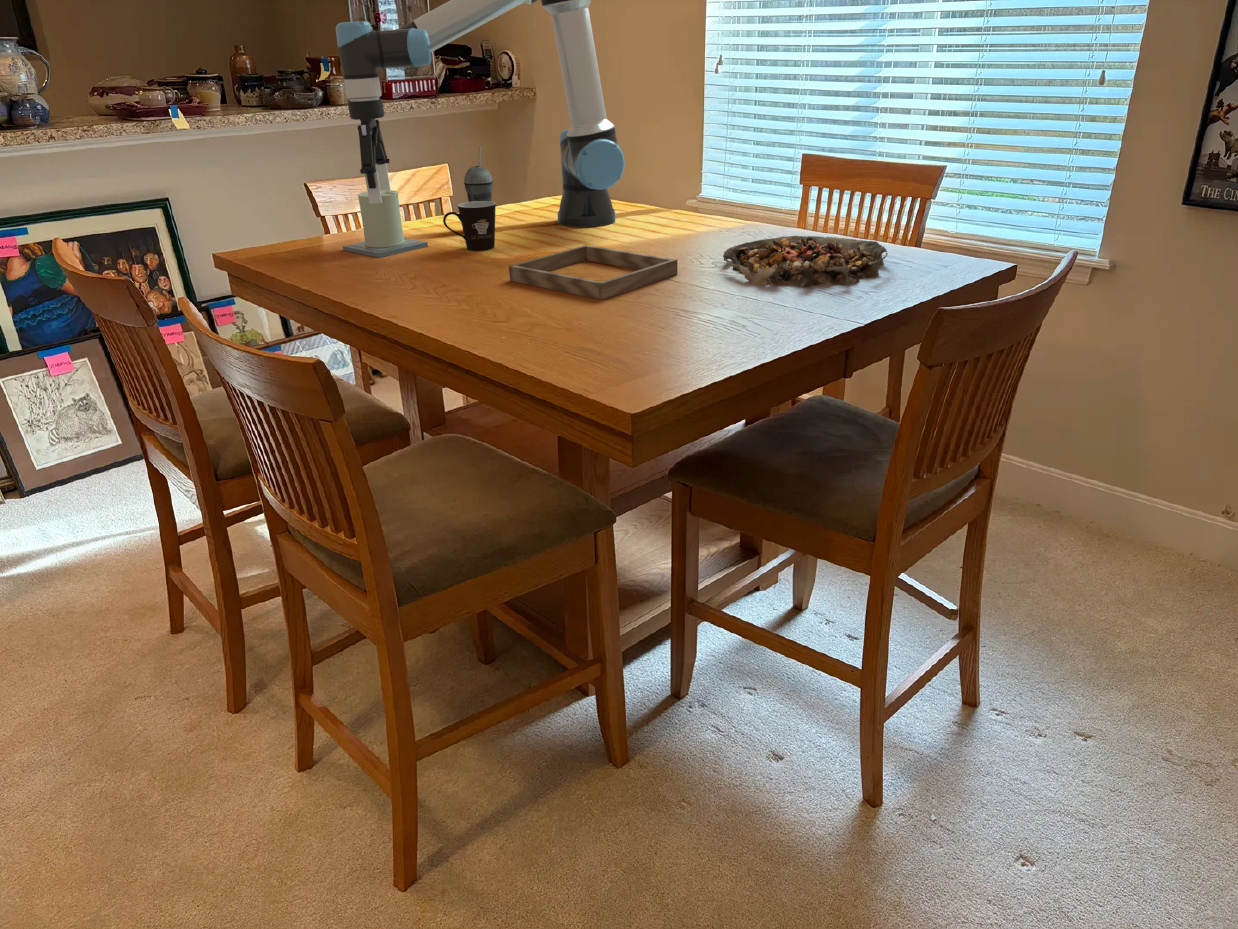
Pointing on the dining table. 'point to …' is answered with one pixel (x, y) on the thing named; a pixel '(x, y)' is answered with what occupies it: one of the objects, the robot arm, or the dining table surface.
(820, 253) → the food dish
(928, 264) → the dining table surface
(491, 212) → the coffee mug
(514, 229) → the dining table surface
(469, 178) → the beverage cup
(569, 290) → the walnut frame
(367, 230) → the can
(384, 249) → the slate coaster
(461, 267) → the dining table surface
